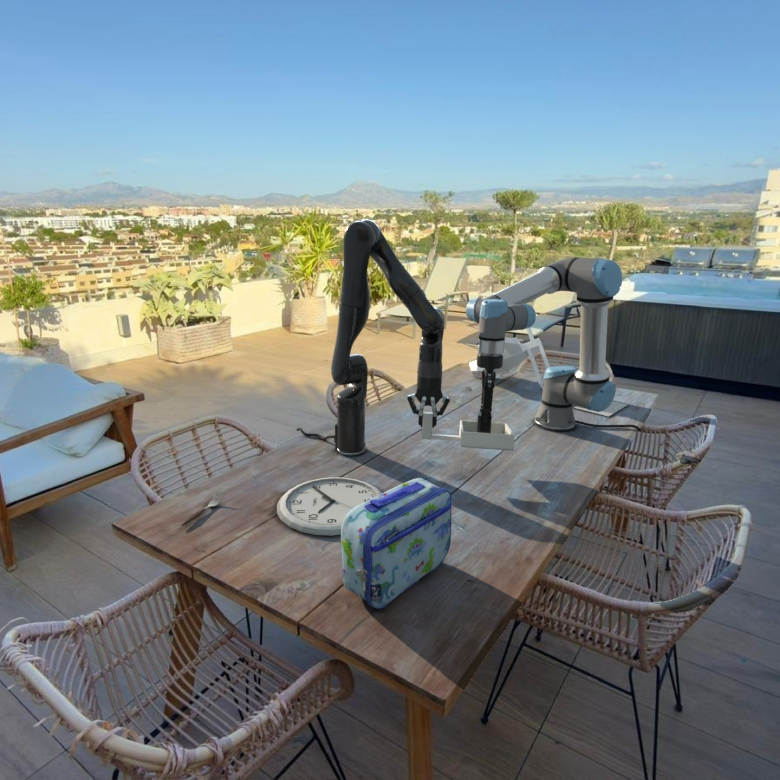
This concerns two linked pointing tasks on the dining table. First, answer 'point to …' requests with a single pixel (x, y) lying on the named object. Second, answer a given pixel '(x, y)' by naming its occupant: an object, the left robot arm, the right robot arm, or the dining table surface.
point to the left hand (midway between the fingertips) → (427, 426)
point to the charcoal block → (480, 421)
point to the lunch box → (395, 540)
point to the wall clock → (323, 504)
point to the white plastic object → (517, 356)
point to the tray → (473, 435)
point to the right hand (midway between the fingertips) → (484, 428)
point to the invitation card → (607, 409)
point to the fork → (211, 504)
